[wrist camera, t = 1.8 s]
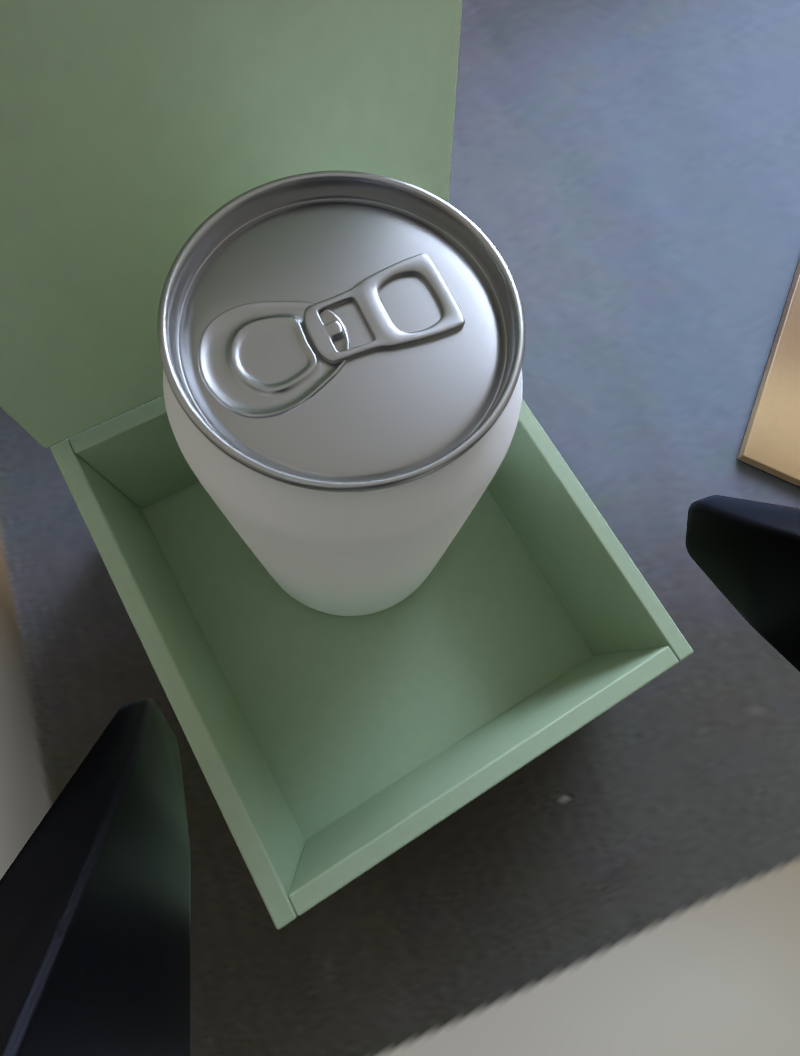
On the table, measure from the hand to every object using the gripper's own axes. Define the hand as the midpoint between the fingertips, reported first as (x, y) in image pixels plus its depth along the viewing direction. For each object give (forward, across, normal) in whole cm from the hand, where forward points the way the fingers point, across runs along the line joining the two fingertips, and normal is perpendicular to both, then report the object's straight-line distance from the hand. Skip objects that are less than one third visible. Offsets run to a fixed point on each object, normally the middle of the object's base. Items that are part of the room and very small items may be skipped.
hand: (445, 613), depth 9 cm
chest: (+10, 0, +6) cm, 11 cm away
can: (+11, 0, +4) cm, 12 cm away
